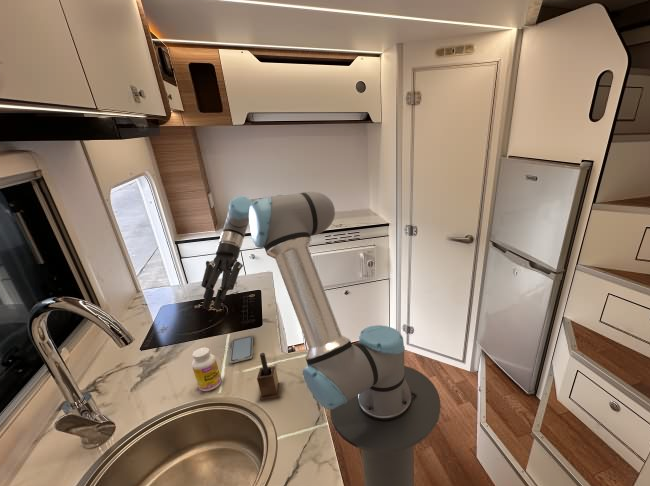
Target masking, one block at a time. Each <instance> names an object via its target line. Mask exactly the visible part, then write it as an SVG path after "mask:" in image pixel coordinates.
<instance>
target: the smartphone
mask: <svg viewBox="0 0 650 486" xmlns="http://www.w3.org/2000/svg"><path fill="white" fill-rule="evenodd" d="M253 341H254V339H253V336H252V335H248V336H244V337H240V338H234V339H233V340H232V343H231V351H230V359H229V360H230V363H231V364H234V363H239V362H243V361H247V360H252V359H253V355H254V354H253V352H254V351H253V348H254V347H253V346H254V344H253V343H254V342H253Z"/></svg>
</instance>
